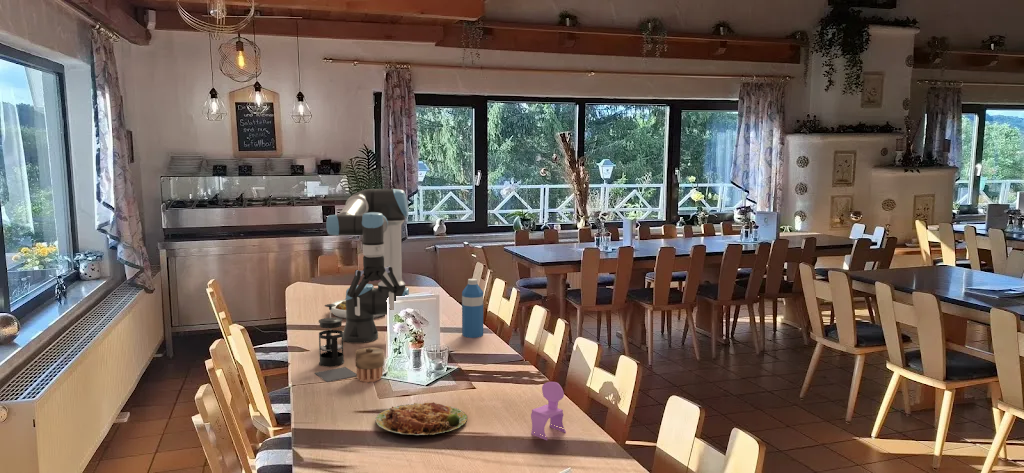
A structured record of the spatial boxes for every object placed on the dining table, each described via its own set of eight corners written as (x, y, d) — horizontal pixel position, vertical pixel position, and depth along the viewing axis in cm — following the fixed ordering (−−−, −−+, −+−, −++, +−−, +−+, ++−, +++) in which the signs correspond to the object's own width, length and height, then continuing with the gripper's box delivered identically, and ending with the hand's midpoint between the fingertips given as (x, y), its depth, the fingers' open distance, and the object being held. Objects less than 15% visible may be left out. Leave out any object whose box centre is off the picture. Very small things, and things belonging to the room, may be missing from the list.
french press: (316, 360, 282) (314, 302, 279) (340, 357, 286) (339, 300, 283) (323, 369, 271) (321, 309, 268) (348, 365, 276) (346, 306, 273)
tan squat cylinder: (350, 364, 261) (350, 348, 261) (376, 359, 267) (375, 344, 267) (362, 371, 253) (362, 354, 253) (388, 366, 259) (388, 350, 259)
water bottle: (482, 338, 316) (482, 281, 313) (461, 337, 316) (461, 281, 313) (483, 332, 326) (483, 277, 322) (463, 332, 326) (462, 277, 323)
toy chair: (527, 433, 212) (527, 384, 210) (547, 425, 218) (548, 377, 216) (548, 442, 206) (548, 391, 204) (568, 433, 212) (569, 384, 211)
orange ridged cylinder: (352, 377, 262) (352, 364, 261) (375, 373, 267) (375, 359, 267) (363, 384, 255) (363, 370, 254) (386, 379, 260) (386, 366, 259)
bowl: (325, 310, 369) (325, 294, 368) (383, 305, 381) (383, 290, 380) (336, 323, 342) (336, 307, 341) (398, 317, 354) (398, 301, 353)
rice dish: (423, 403, 240) (423, 387, 239) (486, 420, 222) (485, 403, 222) (356, 428, 219) (355, 411, 218) (419, 449, 201) (418, 430, 200)
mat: (314, 373, 266) (314, 372, 266) (345, 367, 273) (345, 366, 273) (327, 382, 257) (327, 381, 257) (358, 375, 264) (358, 375, 264)
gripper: (345, 260, 253) (346, 319, 256) (409, 253, 267) (409, 309, 270) (336, 257, 259) (338, 315, 262) (399, 250, 273) (400, 305, 277)
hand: (374, 312), depth 266 cm, fingers open, 13 cm apart
